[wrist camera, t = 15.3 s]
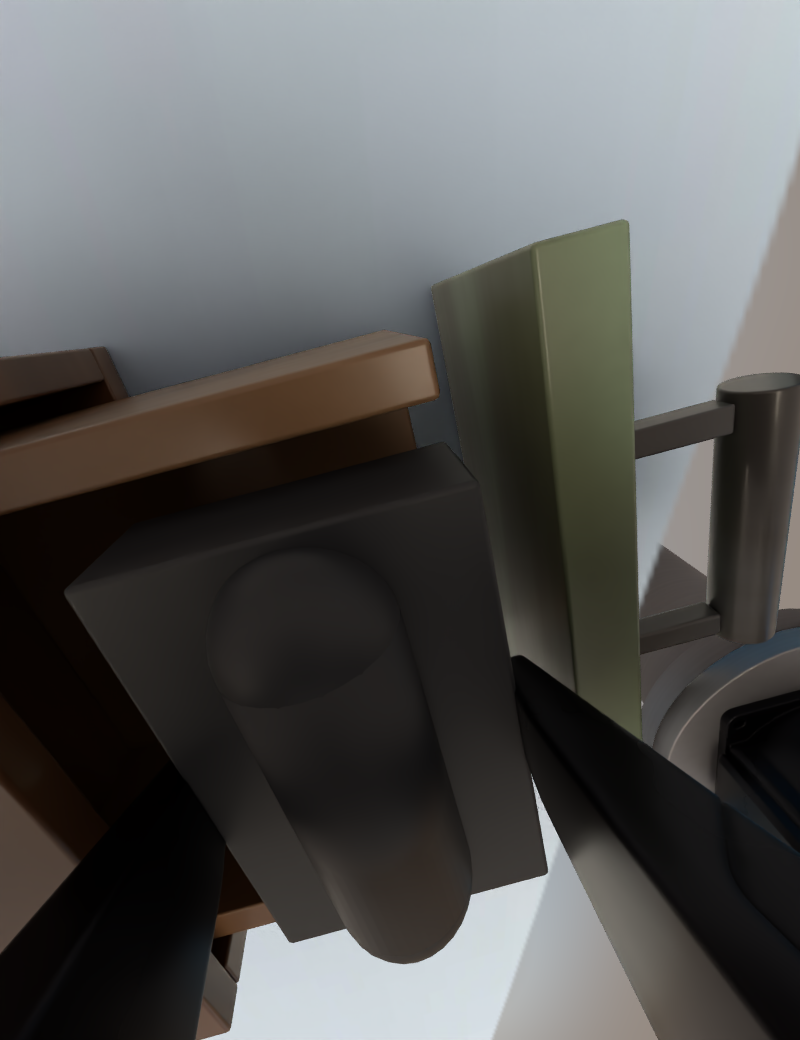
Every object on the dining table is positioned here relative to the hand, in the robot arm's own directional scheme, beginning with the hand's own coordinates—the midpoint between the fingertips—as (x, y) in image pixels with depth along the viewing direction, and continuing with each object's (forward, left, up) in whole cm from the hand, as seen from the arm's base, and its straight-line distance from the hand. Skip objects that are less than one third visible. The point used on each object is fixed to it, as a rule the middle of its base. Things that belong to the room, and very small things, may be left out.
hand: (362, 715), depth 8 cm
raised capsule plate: (0, 0, -1) cm, 1 cm away
